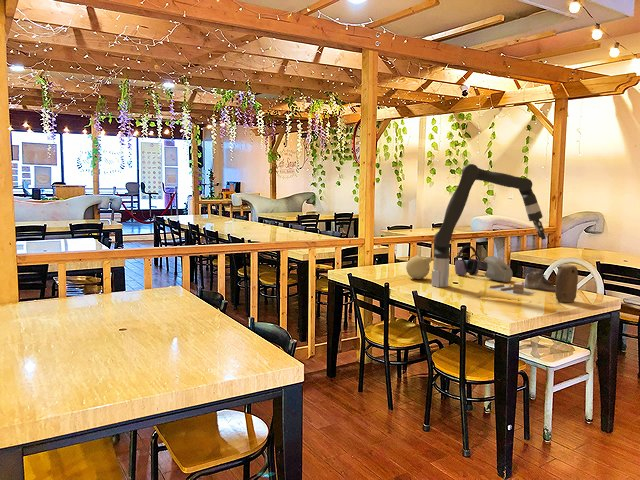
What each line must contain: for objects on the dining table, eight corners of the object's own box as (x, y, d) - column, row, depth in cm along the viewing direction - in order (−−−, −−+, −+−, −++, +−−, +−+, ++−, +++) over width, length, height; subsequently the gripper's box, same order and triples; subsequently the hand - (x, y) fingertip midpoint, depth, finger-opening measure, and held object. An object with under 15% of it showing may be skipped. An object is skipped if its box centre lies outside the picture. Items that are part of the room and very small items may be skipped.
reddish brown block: (522, 294, 288) (523, 284, 288) (512, 293, 290) (513, 283, 290) (523, 290, 296) (524, 282, 296) (514, 290, 298) (514, 281, 298)
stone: (564, 304, 271) (567, 266, 269) (552, 301, 277) (554, 264, 275) (578, 301, 278) (580, 264, 275) (565, 299, 283) (568, 262, 281)
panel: (516, 298, 285) (517, 291, 284) (485, 290, 303) (485, 284, 303) (535, 295, 293) (536, 288, 292) (503, 288, 311) (504, 282, 311)
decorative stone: (501, 283, 325) (502, 259, 323) (481, 279, 340) (482, 256, 338) (515, 282, 330) (516, 258, 329) (494, 277, 345) (495, 255, 344)
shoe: (572, 295, 295) (574, 273, 293) (564, 298, 288) (565, 275, 286) (529, 288, 313) (530, 267, 312) (520, 290, 306) (522, 269, 305)
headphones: (480, 275, 354) (482, 245, 352) (462, 277, 346) (463, 247, 343) (470, 273, 362) (471, 244, 360) (452, 274, 354) (453, 245, 352)
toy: (434, 280, 332) (435, 257, 330) (414, 282, 326) (415, 258, 325) (420, 276, 347) (421, 253, 346) (400, 277, 342) (401, 254, 340)
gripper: (525, 212, 309) (533, 238, 310) (529, 214, 295) (537, 241, 296) (538, 208, 307) (546, 234, 308) (542, 210, 293) (551, 237, 294)
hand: (542, 238), depth 302 cm, fingers open, 8 cm apart
